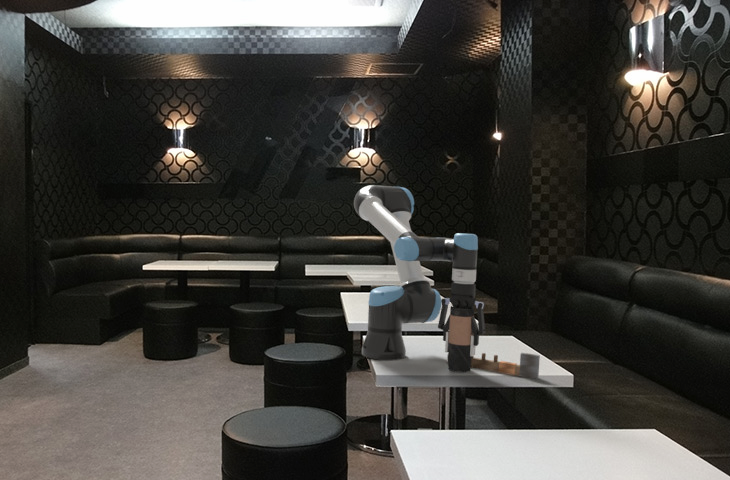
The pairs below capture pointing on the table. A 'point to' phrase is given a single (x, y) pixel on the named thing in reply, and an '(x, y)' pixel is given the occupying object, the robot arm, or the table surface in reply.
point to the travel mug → (460, 339)
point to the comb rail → (509, 365)
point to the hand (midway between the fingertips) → (460, 353)
